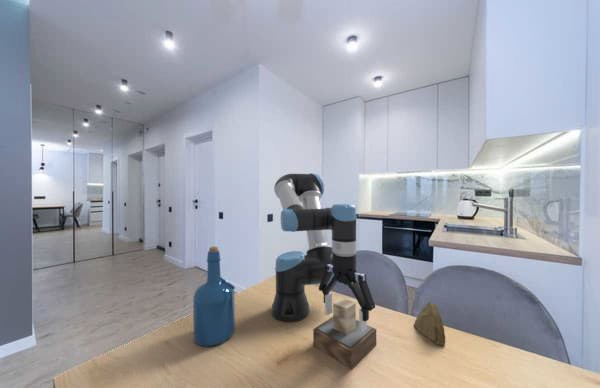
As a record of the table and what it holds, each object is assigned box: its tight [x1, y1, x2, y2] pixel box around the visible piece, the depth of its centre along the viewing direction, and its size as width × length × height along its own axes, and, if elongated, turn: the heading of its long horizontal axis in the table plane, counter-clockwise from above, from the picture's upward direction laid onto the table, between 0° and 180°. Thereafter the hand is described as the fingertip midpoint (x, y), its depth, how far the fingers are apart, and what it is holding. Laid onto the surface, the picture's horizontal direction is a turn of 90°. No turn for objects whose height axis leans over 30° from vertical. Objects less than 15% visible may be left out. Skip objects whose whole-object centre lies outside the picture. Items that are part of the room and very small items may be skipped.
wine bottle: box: [192, 246, 236, 347], centre depth 77 cm, size 14×13×30 cm
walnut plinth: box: [312, 316, 377, 370], centre depth 71 cm, size 14×14×5 cm
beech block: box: [332, 297, 357, 335], centre depth 71 cm, size 5×5×8 cm
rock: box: [413, 301, 446, 346], centre depth 75 cm, size 11×9×10 cm
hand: (344, 321), depth 71 cm, fingers open, 12 cm apart
